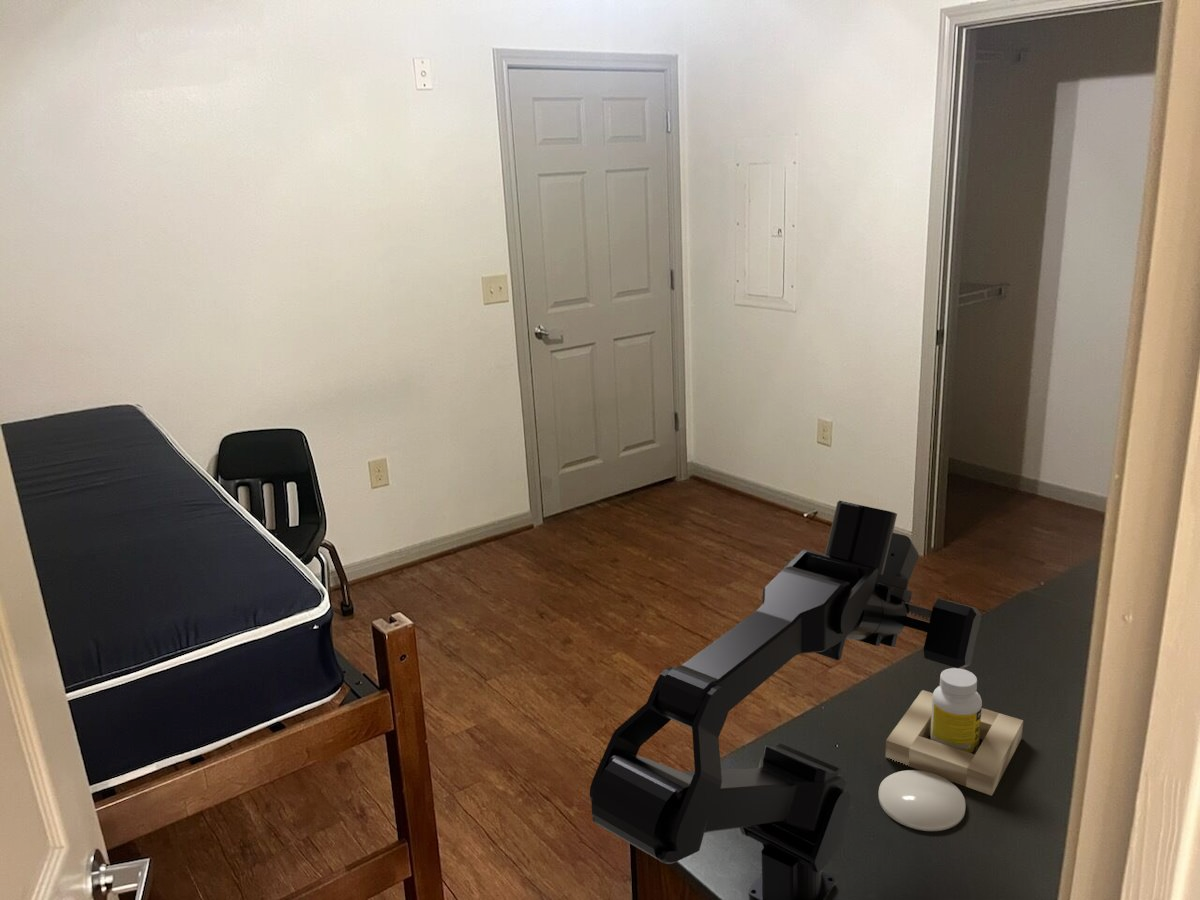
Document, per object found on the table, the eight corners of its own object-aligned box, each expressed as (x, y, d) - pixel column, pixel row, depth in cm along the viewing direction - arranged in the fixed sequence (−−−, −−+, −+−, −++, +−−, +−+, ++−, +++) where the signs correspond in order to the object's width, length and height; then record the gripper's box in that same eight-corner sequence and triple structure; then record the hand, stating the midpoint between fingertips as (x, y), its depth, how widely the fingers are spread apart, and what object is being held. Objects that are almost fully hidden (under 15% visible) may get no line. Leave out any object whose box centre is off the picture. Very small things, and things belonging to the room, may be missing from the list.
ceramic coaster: (949, 843, 93) (949, 838, 93) (865, 810, 98) (865, 805, 98) (976, 793, 100) (976, 788, 99) (896, 764, 105) (896, 760, 105)
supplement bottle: (982, 764, 104) (988, 691, 101) (933, 761, 105) (936, 689, 102) (974, 735, 109) (978, 665, 106) (926, 732, 110) (930, 663, 107)
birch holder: (991, 795, 99) (993, 777, 98) (885, 757, 106) (886, 740, 106) (1021, 738, 108) (1023, 720, 107) (921, 706, 115) (922, 689, 114)
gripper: (967, 552, 84) (1013, 567, 96) (790, 512, 96) (851, 530, 108) (941, 669, 83) (990, 670, 95) (766, 615, 95) (830, 621, 107)
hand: (911, 618), depth 101 cm, fingers open, 9 cm apart
